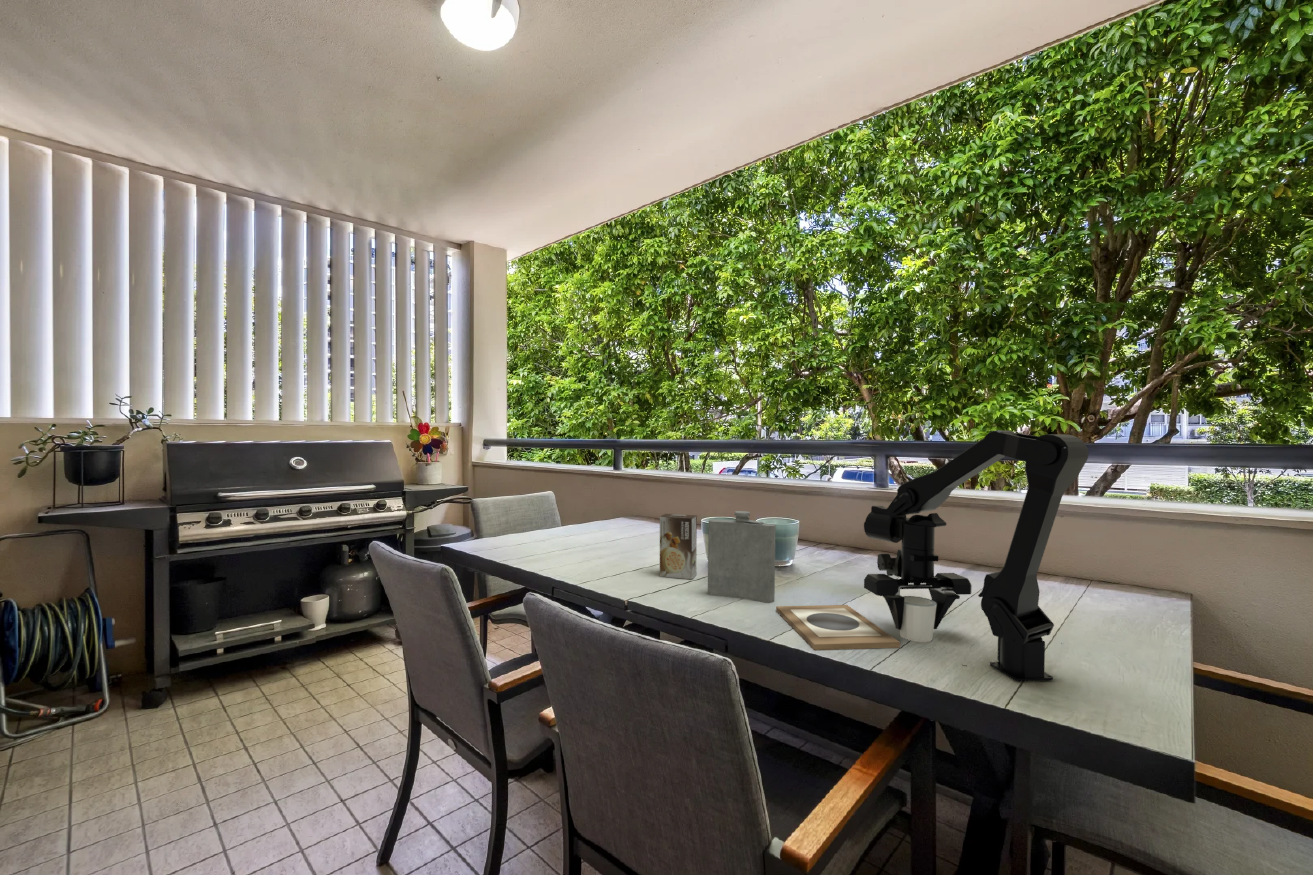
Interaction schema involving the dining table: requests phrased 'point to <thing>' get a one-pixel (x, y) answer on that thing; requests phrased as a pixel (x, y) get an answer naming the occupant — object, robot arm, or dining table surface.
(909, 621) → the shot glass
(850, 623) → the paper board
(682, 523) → the coffee box
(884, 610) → the dining table surface
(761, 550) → the hip flask
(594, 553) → the dining table surface
